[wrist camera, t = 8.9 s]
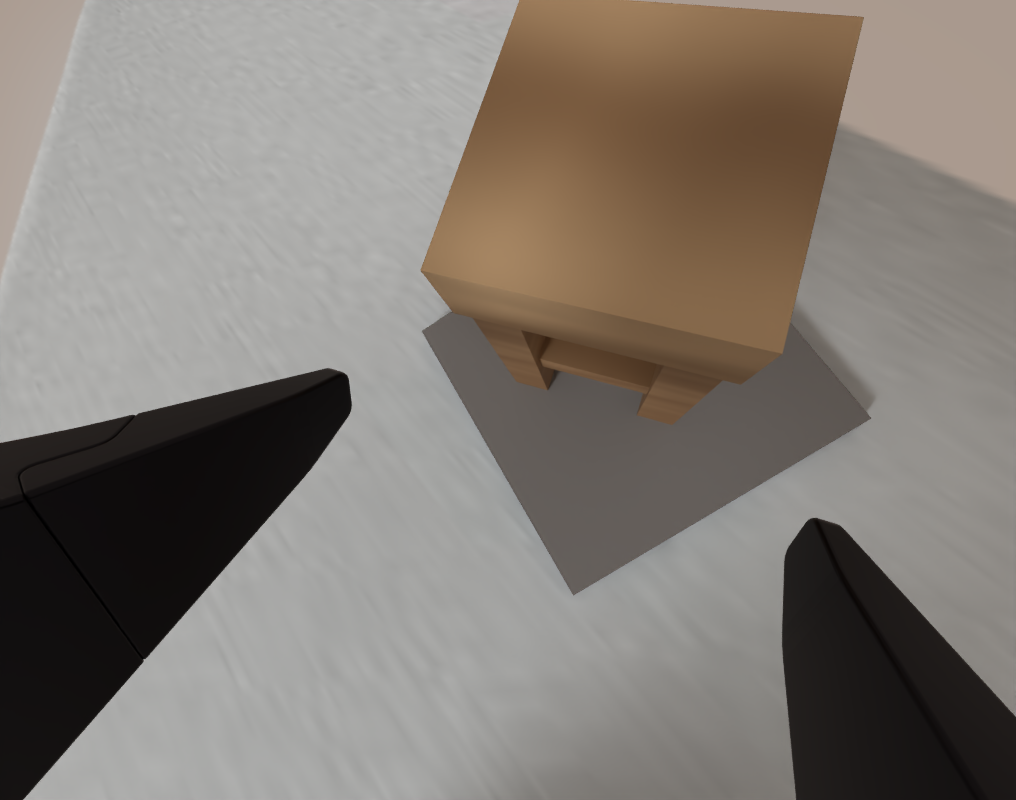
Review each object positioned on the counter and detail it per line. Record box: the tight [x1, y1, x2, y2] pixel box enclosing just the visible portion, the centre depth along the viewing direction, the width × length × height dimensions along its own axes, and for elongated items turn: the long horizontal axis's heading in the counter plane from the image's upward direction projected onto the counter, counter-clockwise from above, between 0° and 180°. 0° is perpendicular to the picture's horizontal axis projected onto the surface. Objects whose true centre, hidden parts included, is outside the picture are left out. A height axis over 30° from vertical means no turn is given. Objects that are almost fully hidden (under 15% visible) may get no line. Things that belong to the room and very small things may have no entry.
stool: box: [421, 0, 864, 425], centre depth 12 cm, size 6×6×9 cm
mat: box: [422, 312, 871, 595], centre depth 16 cm, size 11×11×1 cm
